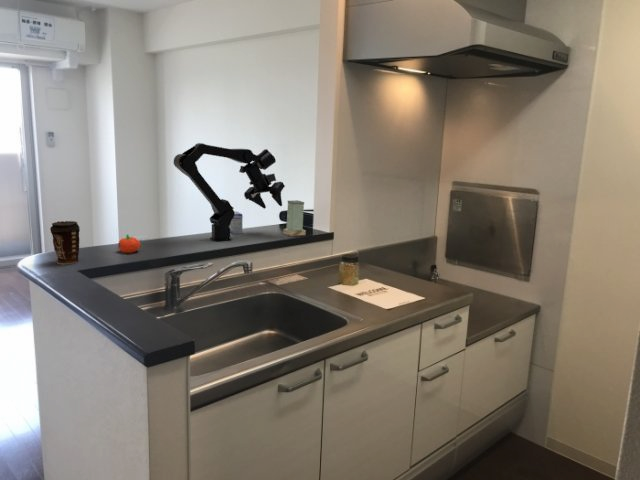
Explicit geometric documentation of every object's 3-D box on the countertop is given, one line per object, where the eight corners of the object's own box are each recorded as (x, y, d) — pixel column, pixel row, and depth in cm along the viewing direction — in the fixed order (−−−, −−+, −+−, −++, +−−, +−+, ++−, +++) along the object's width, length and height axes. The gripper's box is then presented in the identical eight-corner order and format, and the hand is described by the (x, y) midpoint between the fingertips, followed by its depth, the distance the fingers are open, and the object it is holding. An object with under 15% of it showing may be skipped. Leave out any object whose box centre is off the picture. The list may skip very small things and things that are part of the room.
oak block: (291, 237, 222) (291, 231, 221) (283, 234, 228) (283, 228, 227) (305, 236, 226) (305, 230, 225) (297, 233, 231) (297, 227, 231)
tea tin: (292, 231, 222) (293, 202, 219) (286, 228, 226) (287, 200, 224) (302, 230, 225) (304, 202, 222) (296, 228, 229) (298, 200, 226)
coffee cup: (62, 258, 173) (59, 219, 171) (86, 259, 173) (84, 220, 171) (47, 264, 165) (44, 224, 162) (73, 265, 165) (71, 225, 162)
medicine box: (227, 230, 230) (227, 211, 228) (237, 230, 232) (237, 211, 230) (232, 234, 223) (232, 214, 221) (242, 233, 224) (242, 213, 223)
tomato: (126, 256, 181) (123, 239, 179) (115, 252, 186) (112, 235, 184) (145, 251, 185) (142, 234, 184) (134, 247, 191) (131, 230, 189)
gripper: (282, 162, 214) (299, 193, 221) (249, 169, 225) (266, 198, 232) (268, 177, 207) (286, 208, 214) (235, 183, 218) (253, 213, 225)
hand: (273, 206), depth 222 cm, fingers open, 9 cm apart
